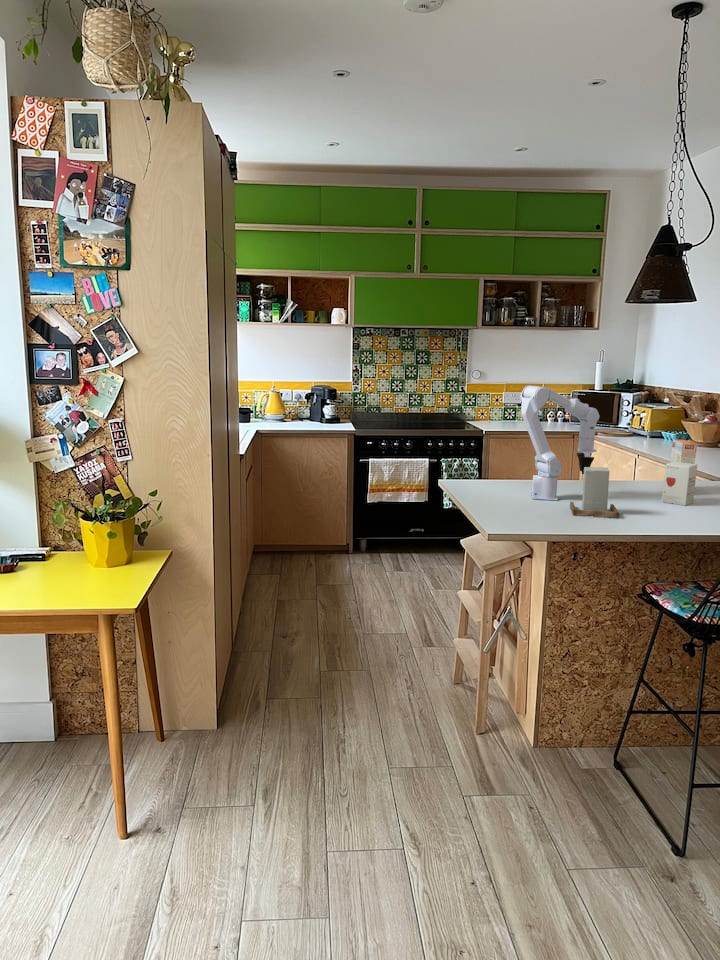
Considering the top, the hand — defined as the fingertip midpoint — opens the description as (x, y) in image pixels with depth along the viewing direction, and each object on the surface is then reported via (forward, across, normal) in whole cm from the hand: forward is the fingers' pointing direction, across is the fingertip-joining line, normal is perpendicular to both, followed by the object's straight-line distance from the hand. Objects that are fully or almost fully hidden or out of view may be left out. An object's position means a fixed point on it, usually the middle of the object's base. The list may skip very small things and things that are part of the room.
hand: (583, 472), depth 277 cm
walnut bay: (+9, -29, -1) cm, 31 cm away
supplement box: (+10, -1, -35) cm, 36 cm away
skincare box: (+10, -28, -1) cm, 29 cm away
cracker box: (+10, +23, -41) cm, 48 cm away
